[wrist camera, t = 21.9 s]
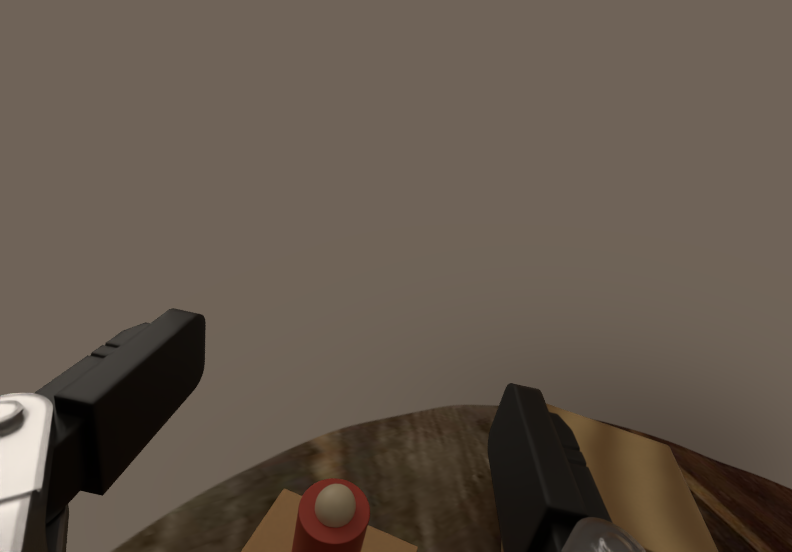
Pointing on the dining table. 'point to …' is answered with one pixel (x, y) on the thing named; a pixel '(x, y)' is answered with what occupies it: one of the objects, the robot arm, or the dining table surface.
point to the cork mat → (277, 531)
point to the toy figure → (331, 518)
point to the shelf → (640, 486)
